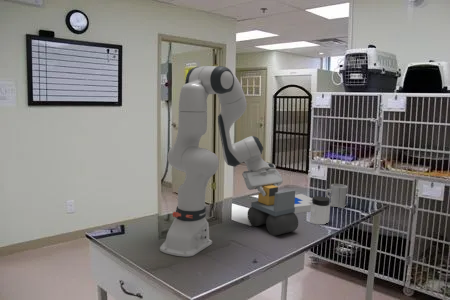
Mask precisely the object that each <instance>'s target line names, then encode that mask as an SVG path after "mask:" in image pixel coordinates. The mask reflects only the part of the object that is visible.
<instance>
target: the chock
mask: <svg viewBox="0 0 450 300" xmlns="http://www.w3.org/2000/svg"><path fill="white" fill-rule="evenodd" d="M262 189H263V190H264V191H266V192H267V195H266V196H263V195H262V193H260V192H258V193H257V194H258V196H257V198H258V199H257V201H258V202H260V203H263V204H265V205H268V206H269V205H274V199H275V193H277V192H279V186H274V185H269V186H263V188H262Z"/></svg>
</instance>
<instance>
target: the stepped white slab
mask: <svg viewBox="0 0 450 300" xmlns="http://www.w3.org/2000/svg"><path fill="white" fill-rule="evenodd" d="M312 198H313V197H310V196H307V195H305V194H303V193H299V194H296V193H295V204H294V208H295V212H294V213H295V214H301V213H311V212H310V211H311V203H312Z"/></svg>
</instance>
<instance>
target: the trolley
mask: <svg viewBox="0 0 450 300" xmlns="http://www.w3.org/2000/svg"><path fill="white" fill-rule="evenodd" d="M295 194H296V190H295V189H290V190H289V189H288V190H285V191H284V190H283V191H278V192H277V193H275V199H274V205H269V206H268V205H265V204H263V203H260V202H258V200H257V201H253V202H251V203H250V204H251V206H250V207H249V208H248V210H247V219H248V222H249V224H250V225H251V226H253V227H258V226H263V225H266V230H267V231H268V232H269V234H270V235H271V236H276V237H277V236H280V235H283V234H287V233H290V232H294V231H296V230H297V229H298V228H299V227H298V226H299V219H298V216H297V214H296V213H294V212H295V208H294V204H295Z"/></svg>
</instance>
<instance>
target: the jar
mask: <svg viewBox="0 0 450 300" xmlns="http://www.w3.org/2000/svg"><path fill="white" fill-rule="evenodd" d="M311 198H312V203H311V212H309V213H310V214H309V215H310V216H309V221H310V222H311V223H312V222H313V223H312V224H314V225H318V224H326V223H328V222H329V223H330V214H331V213H330V212H331V206H330V202H331V198H327V196H322V195H321V196H319V195H316V196H313V197H311ZM329 223H328V224H329ZM326 225H327V224H326Z"/></svg>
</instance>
